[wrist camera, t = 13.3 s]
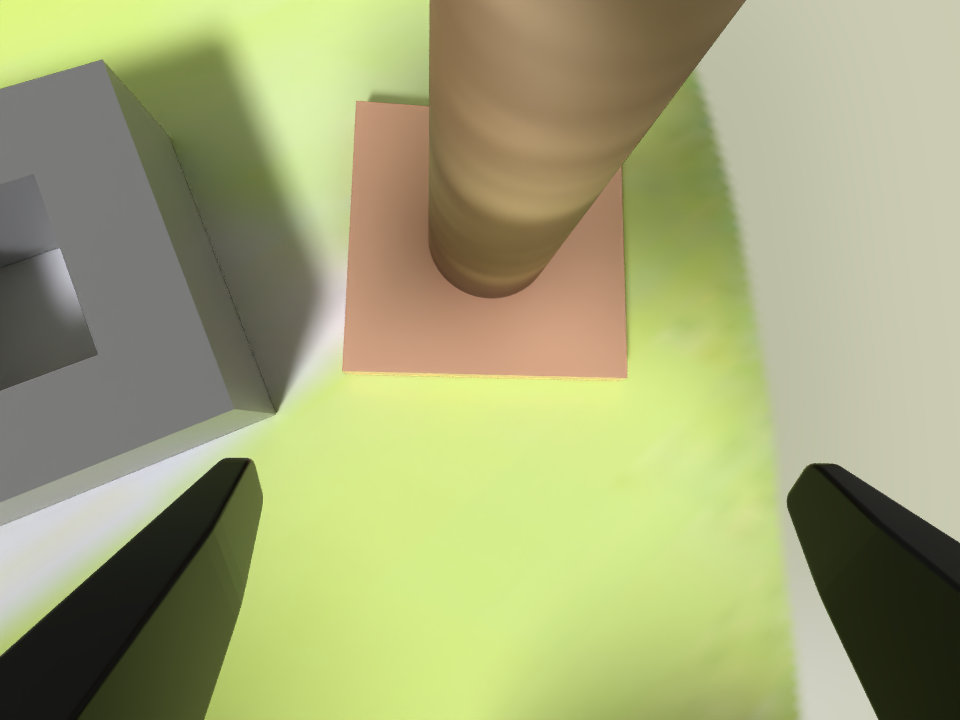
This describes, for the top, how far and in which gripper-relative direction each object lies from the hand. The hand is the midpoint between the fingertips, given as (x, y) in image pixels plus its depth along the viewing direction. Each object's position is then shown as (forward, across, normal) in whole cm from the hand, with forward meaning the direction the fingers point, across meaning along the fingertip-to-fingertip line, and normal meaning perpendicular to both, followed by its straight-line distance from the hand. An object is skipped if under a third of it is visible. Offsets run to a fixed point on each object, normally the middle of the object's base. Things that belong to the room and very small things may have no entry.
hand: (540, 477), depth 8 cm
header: (+9, +13, +3) cm, 16 cm away
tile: (+11, 0, +1) cm, 11 cm away
